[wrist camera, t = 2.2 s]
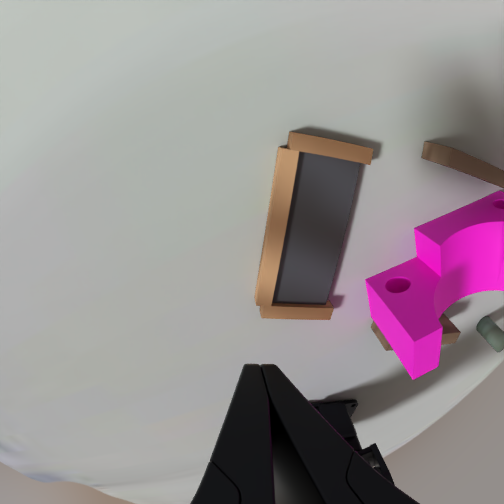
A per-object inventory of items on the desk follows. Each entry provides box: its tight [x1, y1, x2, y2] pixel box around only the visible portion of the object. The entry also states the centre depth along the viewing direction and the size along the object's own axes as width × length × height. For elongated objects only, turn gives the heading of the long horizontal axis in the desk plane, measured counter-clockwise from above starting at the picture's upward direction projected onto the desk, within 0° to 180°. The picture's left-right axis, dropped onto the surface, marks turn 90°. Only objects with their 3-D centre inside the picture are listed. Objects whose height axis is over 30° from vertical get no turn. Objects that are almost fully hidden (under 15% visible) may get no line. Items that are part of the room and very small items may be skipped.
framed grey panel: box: [255, 132, 504, 352], centre depth 19 cm, size 18×27×4 cm, turn 82°
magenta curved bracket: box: [365, 190, 504, 380], centre depth 18 cm, size 15×6×8 cm, turn 110°
